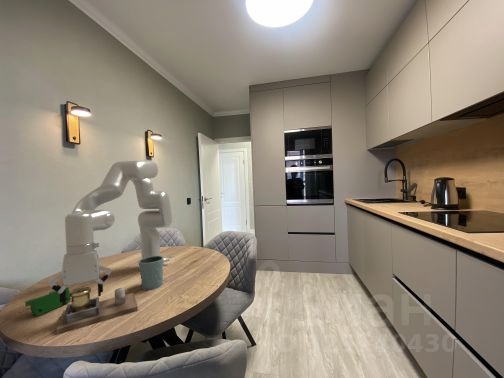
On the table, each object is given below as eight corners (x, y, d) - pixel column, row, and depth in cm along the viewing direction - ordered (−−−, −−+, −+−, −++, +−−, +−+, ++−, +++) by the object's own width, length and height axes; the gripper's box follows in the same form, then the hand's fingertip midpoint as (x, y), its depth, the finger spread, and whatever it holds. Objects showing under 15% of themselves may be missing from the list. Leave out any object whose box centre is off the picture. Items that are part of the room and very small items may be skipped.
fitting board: (133, 296, 91) (133, 280, 91) (137, 310, 80) (136, 292, 80) (63, 314, 79) (62, 296, 79) (56, 334, 68) (56, 313, 68)
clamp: (57, 314, 88) (63, 288, 92) (67, 312, 86) (73, 287, 90) (18, 317, 78) (27, 289, 82) (28, 316, 76) (36, 287, 80)
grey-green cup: (168, 282, 104) (168, 256, 104) (152, 292, 95) (151, 263, 95) (151, 280, 108) (150, 254, 107) (134, 289, 98) (133, 261, 98)
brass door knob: (92, 307, 81) (91, 284, 81) (91, 314, 76) (90, 290, 76) (71, 312, 78) (70, 289, 78) (69, 320, 73) (68, 295, 73)
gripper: (110, 242, 85) (112, 288, 85) (49, 251, 75) (51, 302, 76) (110, 246, 79) (112, 295, 79) (44, 256, 69) (46, 312, 69)
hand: (82, 298), depth 77 cm, fingers open, 9 cm apart
